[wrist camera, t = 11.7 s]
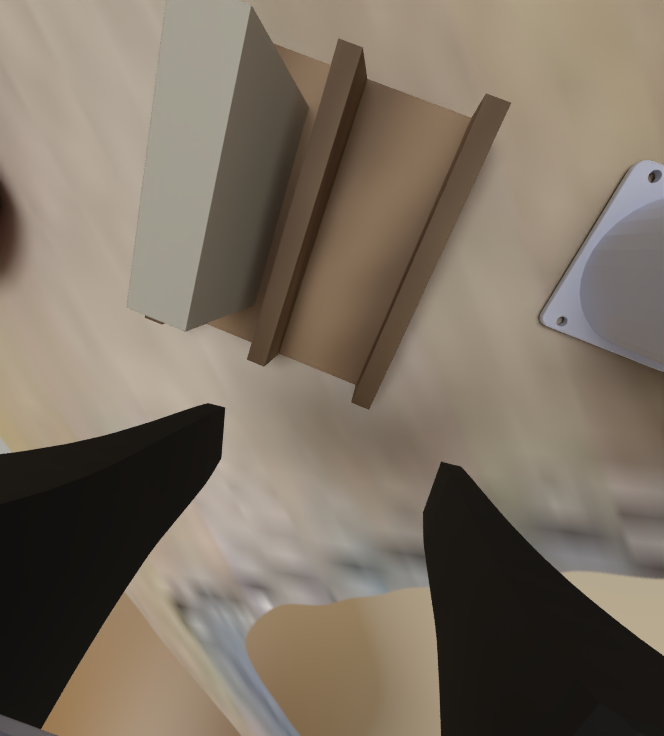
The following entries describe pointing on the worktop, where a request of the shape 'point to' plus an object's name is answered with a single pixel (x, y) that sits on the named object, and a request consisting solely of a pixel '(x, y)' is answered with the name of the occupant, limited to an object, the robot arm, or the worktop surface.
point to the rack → (360, 220)
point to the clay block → (212, 164)
